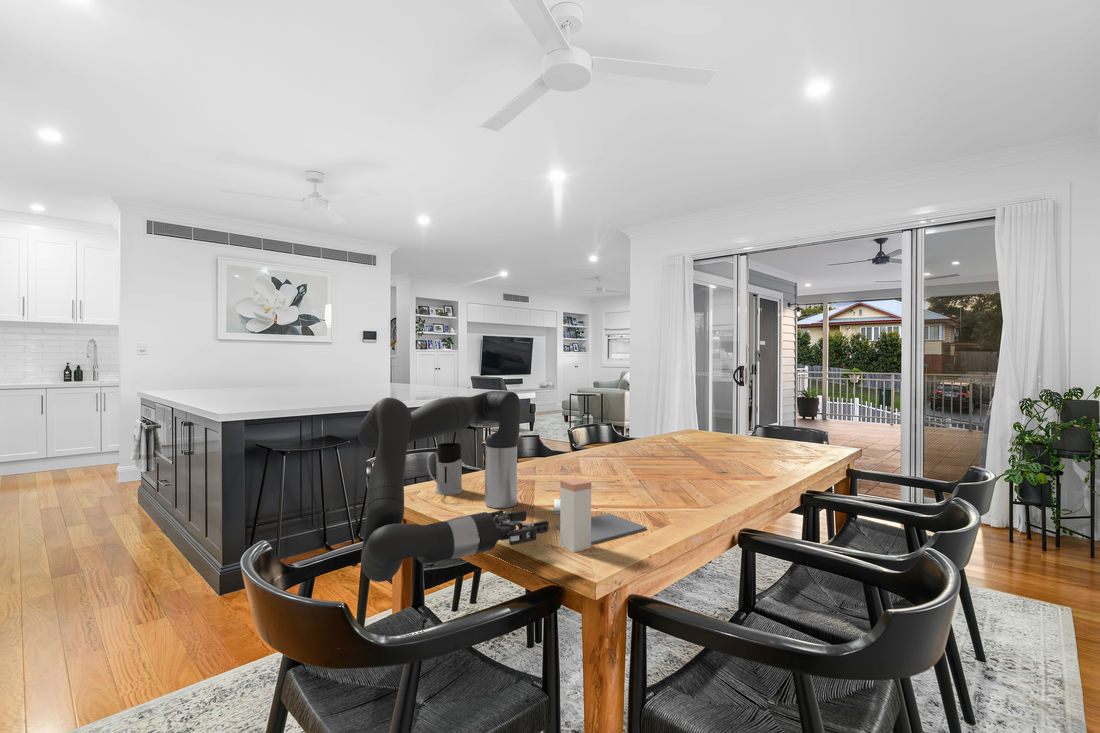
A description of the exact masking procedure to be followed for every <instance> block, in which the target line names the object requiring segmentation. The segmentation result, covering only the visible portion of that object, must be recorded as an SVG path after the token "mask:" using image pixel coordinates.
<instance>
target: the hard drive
mask: <svg viewBox="0 0 1100 733" xmlns="http://www.w3.org/2000/svg"><path fill="white" fill-rule="evenodd" d="M554 514H560V498H554V499H553V515H554Z"/></svg>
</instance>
